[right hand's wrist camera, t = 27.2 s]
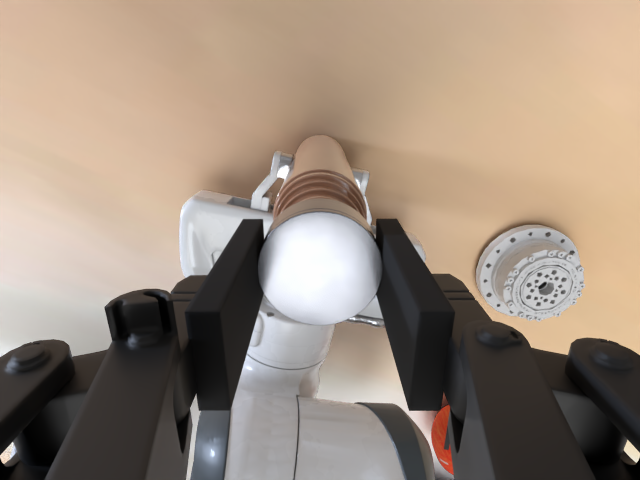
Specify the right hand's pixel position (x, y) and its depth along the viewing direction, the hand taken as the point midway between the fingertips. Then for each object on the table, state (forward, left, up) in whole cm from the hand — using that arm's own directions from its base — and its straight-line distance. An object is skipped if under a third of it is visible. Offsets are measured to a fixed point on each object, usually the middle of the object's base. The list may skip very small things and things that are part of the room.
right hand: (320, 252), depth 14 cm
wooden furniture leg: (0, 0, -23) cm, 23 cm away
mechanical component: (-11, +21, -23) cm, 33 cm away
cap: (0, 0, +1) cm, 1 cm away
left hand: (-1, -1, -16) cm, 16 cm away
